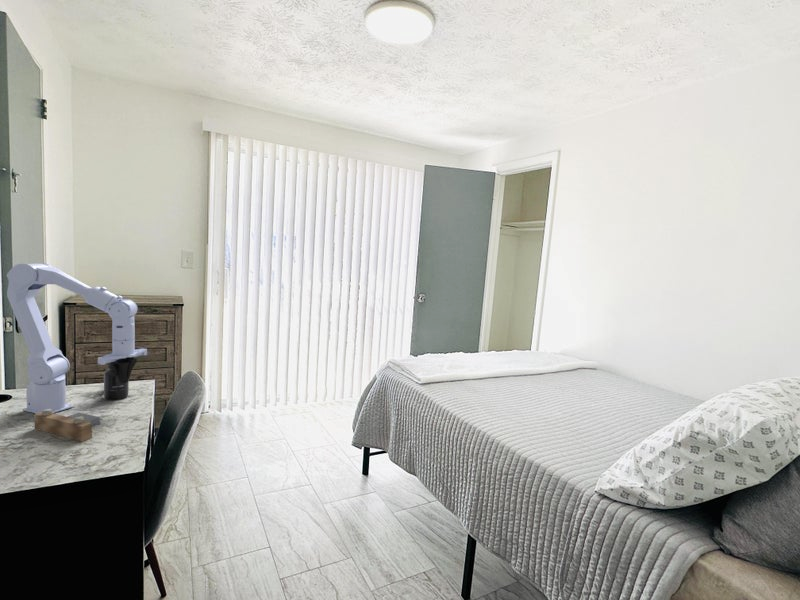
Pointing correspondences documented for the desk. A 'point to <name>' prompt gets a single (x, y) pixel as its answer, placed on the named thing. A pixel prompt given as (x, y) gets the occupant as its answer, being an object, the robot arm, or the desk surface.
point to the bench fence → (63, 425)
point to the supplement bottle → (114, 385)
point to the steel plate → (87, 418)
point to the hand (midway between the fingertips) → (123, 382)
